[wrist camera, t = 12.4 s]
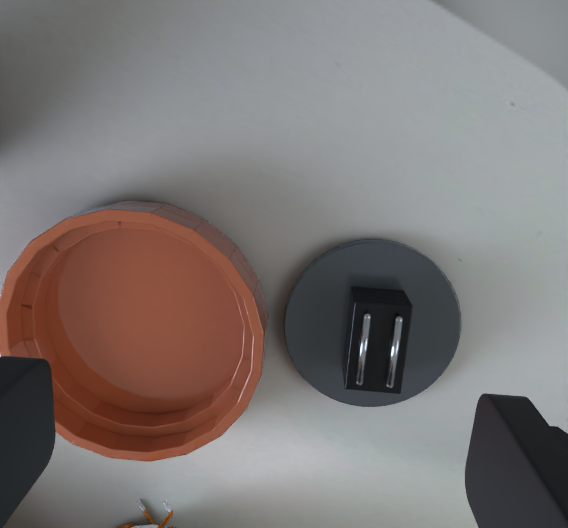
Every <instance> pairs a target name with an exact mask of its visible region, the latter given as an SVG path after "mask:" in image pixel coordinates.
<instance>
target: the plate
mask: <svg viewBox="0 0 568 528" xmlns="http://www.w3.org/2000/svg"><path fill="white" fill-rule="evenodd" d="M351 287H364V288H376V289H388V290H400V291H405V293H406V295H407V296H408V298H409V300H410V302H411V304H412V305H413V312H412V319H411V326H410V333H409V339H408V346H407V353H406V360H405V367H404V374H403V381H402V388H401V393H400V394H394V393H383V392H372V391H360V390H349V389H345V387H344V379H343V372H342V362H343V353H344V344H345V335H346V326H347V317H348V308H349V299H350V290H351ZM460 332H461V312H460V306H459V302H458V299H457V296H456V293H455V291H454V289H453V287H452V285H451V283H450V281H449V280H448V279H447V277H446V276H445V274H444V273H443V272H442V271H441V270H440V268H439V267H438V266H437V265H436V264H435V263H434V262H433V261H432V260H430V259H429V258H428V257H427V256H425V255H424V254H422V253H421V252H419V251H417V250H416V249H414V248H411V247H409V246H407V245H404V244H401V243H398V242H394V241H388V240H382V239H366V240H357V241H353V242H349V243H345V244H343V245H340V246H337V247H335V248H333V249H331V250H329V251H327V252H325V253H324V254H322V255H321V256H319V257H318V258H317V259H315V260H314V261H313V262H312V263H311V264H310V265H309V266H308V267H307V268H306V269H305V270H304V271H303V272H302V274H301V275H300V276H299V278H298V279H297V281H296V282H295V284H294V286H293V288H292V290H291V292H290V294H289V297H288V301H287V304H286V309H285V316H284V336H285V342H286V346H287V350H288V353H289V355H290V357H291V360H292V362H293V363H294V365H295V367H296V368H297V370H298V371H299V373H300V374H301V375H302V376H303V378H304V379H305V380H306V381H307V382H308V383H309V384H311V385H312V386H313V387H314V388H315V389H317V390H318V391H320V392H321V393H323V394H324V395H326V396H328V397H330V398H332V399H334V400H337V401H339V402H342V403H346V404H350V405H355V406H362V407H377V406H386V405H391V404H396V403H399V402H402V401H405V400H407V399H409V398H411V397H413V396H416V395H417V394H419V393H420V392H422V391H424V390H425V389H427V388H428V387H429V386H430V385H431V384H433V383H434V382H435V381H436V380H437V379H438V378H439V377H440V376H441V375H442V373H443V372H444V371H445V369H446V368H447V367H448V365H449V363H450V362H451V360H452V358H453V356H454V354H455V351H456V349H457V346H458V342H459V338H460Z"/></svg>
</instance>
